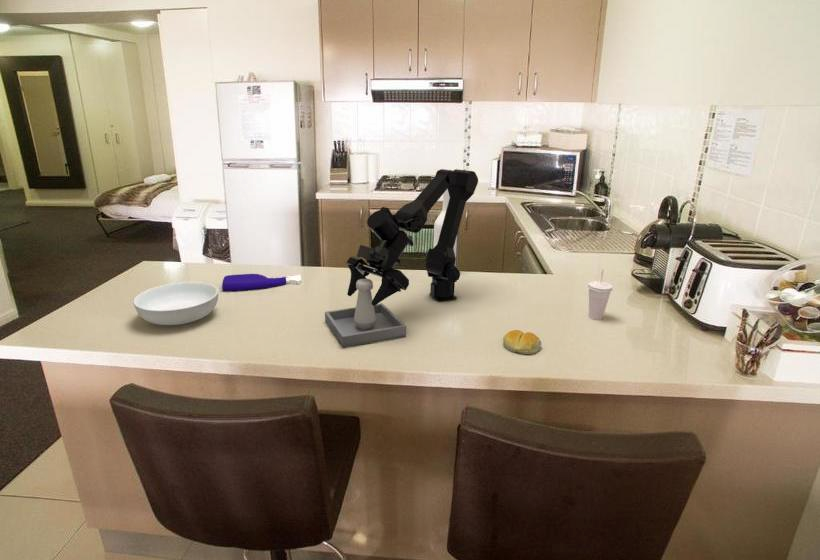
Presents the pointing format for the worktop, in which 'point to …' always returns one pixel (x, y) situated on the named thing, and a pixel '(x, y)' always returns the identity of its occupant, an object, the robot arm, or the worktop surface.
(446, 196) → the bottle
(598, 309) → the smoothie
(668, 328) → the worktop surface
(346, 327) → the tray
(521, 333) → the bread roll
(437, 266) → the robot arm
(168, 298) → the serving bowl
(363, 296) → the salt shaker
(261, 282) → the spray bottle
